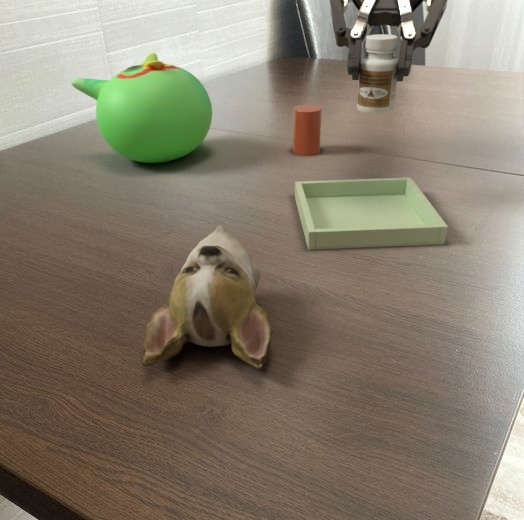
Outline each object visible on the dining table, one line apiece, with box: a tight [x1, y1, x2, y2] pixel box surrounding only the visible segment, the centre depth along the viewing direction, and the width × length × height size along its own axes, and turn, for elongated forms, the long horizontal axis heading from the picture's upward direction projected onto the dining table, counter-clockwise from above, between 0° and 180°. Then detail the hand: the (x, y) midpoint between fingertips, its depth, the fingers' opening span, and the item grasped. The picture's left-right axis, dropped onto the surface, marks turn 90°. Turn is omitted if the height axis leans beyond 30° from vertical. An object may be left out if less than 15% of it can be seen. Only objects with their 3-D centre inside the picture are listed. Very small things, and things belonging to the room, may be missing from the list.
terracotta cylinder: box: [292, 104, 323, 157], centre depth 88 cm, size 4×4×7 cm
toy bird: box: [70, 52, 213, 164], centre depth 85 cm, size 18×17×15 cm
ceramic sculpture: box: [141, 225, 273, 370], centre depth 48 cm, size 11×9×15 cm
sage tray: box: [294, 177, 449, 250], centre depth 68 cm, size 16×16×2 cm
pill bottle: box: [356, 33, 399, 115], centre depth 64 cm, size 4×4×8 cm
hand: (377, 75), depth 62 cm, fingers closed on pill bottle, 4 cm apart
